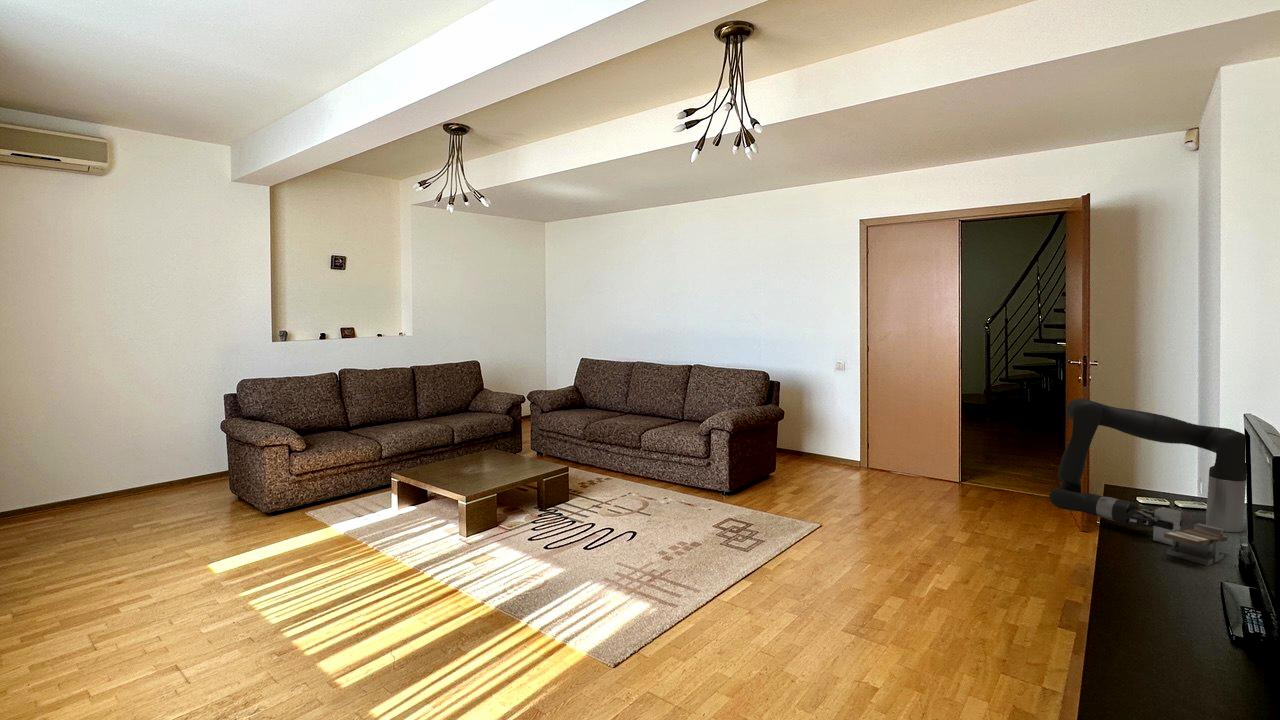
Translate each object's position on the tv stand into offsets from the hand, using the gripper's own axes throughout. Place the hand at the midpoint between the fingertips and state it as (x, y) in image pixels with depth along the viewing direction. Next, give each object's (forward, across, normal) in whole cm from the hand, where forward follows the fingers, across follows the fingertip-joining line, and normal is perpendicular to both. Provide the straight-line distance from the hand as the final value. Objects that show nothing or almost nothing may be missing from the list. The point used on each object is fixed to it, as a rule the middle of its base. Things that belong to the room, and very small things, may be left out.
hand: (1177, 525), depth 201 cm
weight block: (-3, 0, +6) cm, 7 cm away
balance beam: (+7, -7, 0) cm, 10 cm away
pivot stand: (+7, -7, +6) cm, 12 cm away
